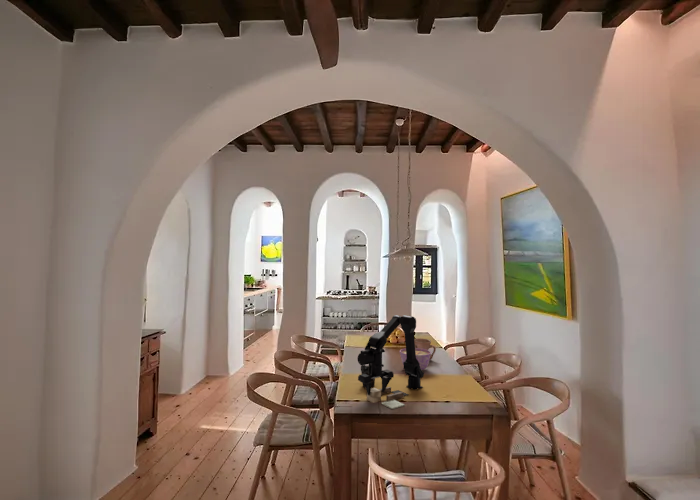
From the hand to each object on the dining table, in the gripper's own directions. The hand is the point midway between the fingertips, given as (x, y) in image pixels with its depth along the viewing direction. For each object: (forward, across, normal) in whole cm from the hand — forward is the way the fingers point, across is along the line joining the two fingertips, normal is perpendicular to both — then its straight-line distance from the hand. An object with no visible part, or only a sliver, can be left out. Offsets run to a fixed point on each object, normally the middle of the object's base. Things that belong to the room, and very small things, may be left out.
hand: (376, 393), depth 194 cm
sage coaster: (+3, -2, +10) cm, 11 cm away
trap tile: (+3, -16, 0) cm, 16 cm away
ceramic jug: (+3, -75, -42) cm, 86 cm away
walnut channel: (+3, -8, 0) cm, 9 cm away
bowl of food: (+3, -54, -28) cm, 61 cm away
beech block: (+3, +1, 0) cm, 3 cm away
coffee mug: (+3, -11, -19) cm, 22 cm away
